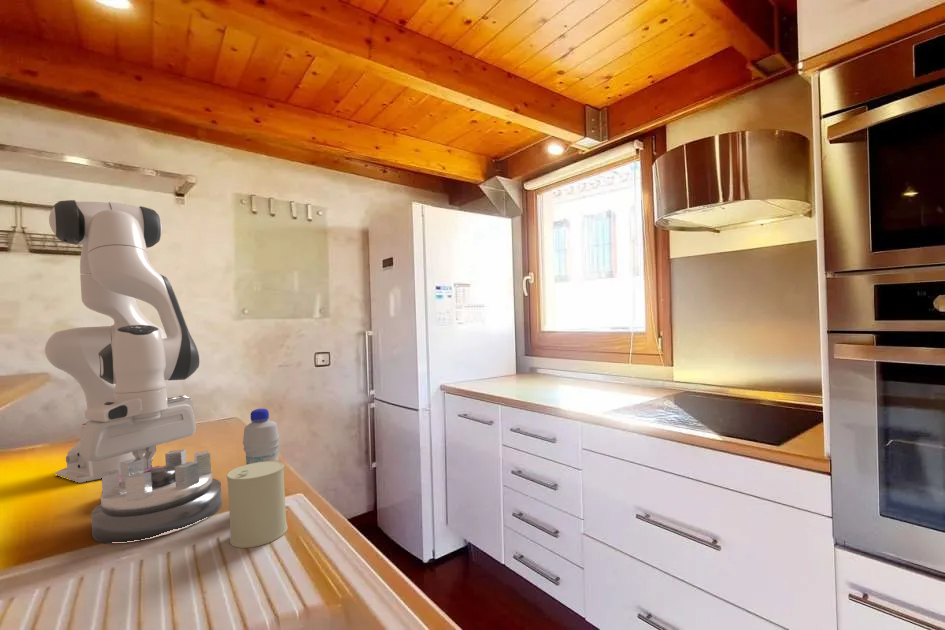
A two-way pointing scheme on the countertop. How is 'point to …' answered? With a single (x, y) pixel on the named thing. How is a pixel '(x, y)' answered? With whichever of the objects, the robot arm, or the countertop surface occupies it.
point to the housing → (154, 518)
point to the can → (256, 504)
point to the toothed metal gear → (155, 484)
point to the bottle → (261, 438)
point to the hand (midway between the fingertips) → (145, 469)
